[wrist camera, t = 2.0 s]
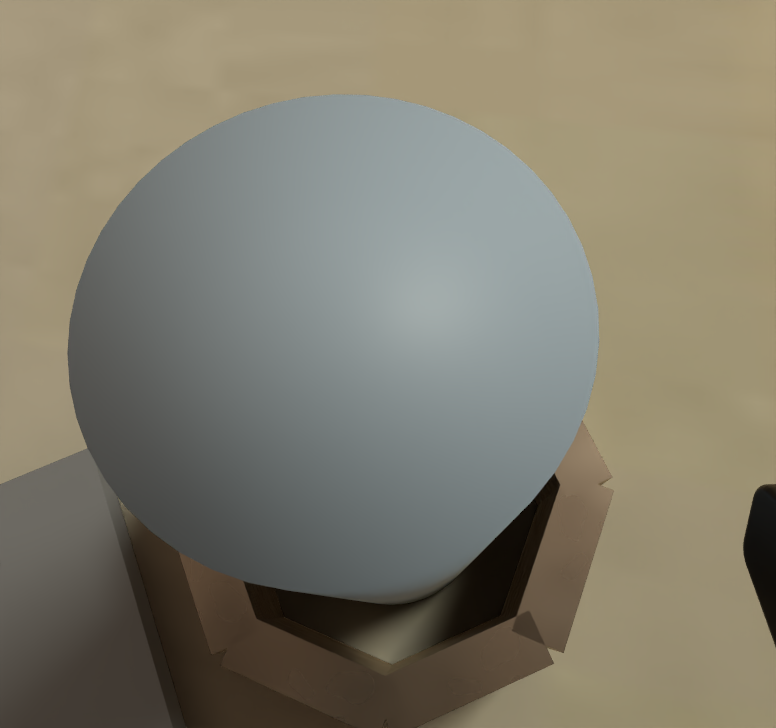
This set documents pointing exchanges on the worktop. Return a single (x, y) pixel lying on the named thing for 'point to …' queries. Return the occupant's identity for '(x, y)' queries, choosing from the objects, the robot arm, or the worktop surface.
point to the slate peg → (334, 346)
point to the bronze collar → (442, 661)
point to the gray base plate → (75, 608)
